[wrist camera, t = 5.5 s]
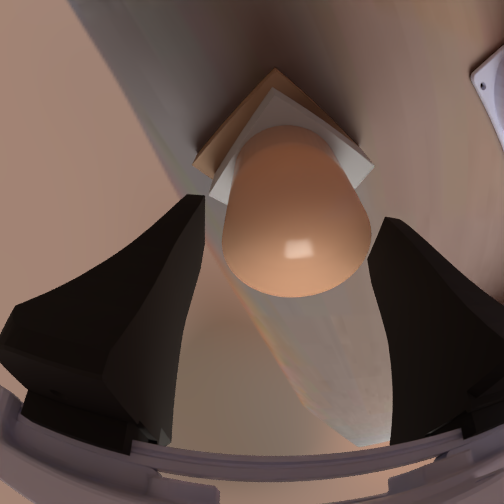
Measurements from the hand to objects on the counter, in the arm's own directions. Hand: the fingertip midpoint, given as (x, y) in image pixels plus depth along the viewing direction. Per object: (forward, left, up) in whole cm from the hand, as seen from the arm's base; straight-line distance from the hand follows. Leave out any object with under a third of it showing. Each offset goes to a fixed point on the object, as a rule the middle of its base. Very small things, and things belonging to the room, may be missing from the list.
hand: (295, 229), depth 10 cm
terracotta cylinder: (0, 0, -4) cm, 4 cm away
